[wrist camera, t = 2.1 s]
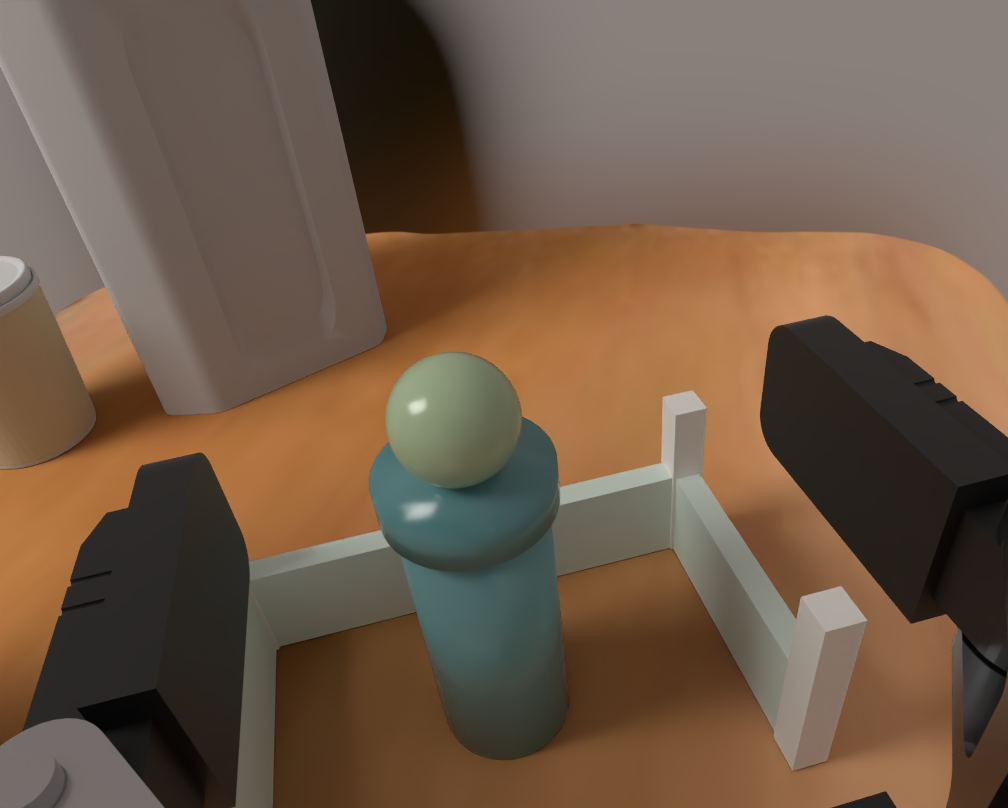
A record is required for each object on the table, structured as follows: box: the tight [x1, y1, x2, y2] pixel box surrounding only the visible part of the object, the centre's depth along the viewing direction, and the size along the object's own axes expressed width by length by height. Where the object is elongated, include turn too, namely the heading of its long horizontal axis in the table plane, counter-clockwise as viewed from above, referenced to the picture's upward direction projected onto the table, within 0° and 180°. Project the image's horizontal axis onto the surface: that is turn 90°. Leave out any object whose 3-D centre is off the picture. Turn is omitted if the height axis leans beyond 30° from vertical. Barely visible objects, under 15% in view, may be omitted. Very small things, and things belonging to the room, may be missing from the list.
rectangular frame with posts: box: [233, 390, 867, 808], centre depth 32 cm, size 14×24×9 cm, turn 103°
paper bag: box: [0, 0, 387, 416], centre depth 53 cm, size 19×15×28 cm
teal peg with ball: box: [369, 352, 569, 760], centre depth 28 cm, size 6×6×18 cm
